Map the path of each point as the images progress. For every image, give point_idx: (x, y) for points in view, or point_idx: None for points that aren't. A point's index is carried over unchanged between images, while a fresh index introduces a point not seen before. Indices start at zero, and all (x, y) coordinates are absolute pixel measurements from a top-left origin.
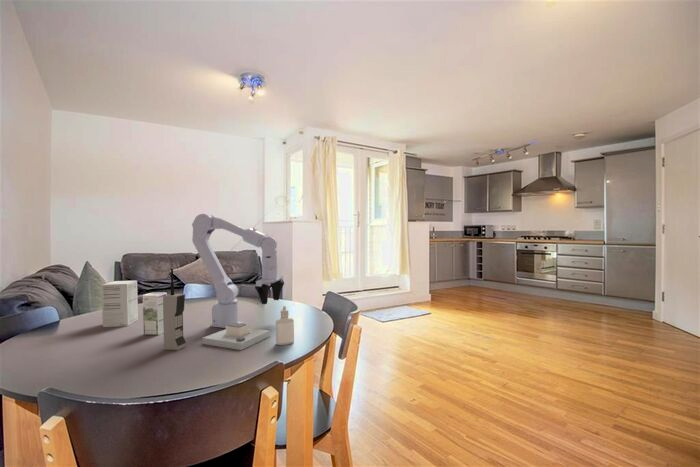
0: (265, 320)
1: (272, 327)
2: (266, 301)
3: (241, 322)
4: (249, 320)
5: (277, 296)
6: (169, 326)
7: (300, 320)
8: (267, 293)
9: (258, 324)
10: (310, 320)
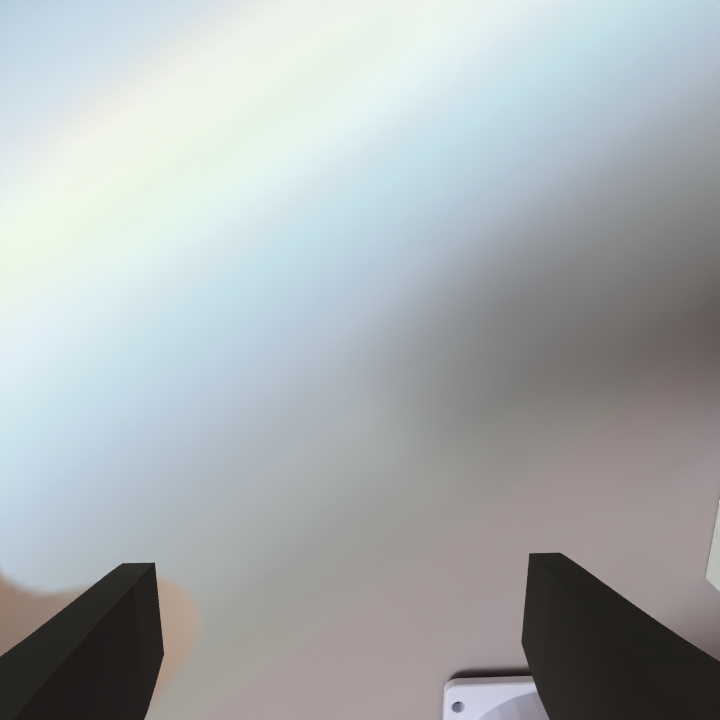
0: (264, 559)
1: (476, 317)
2: (585, 575)
3: (468, 692)
4: (326, 698)
5: (122, 628)
6: None
7: (85, 161)
8: (715, 709)
9: (422, 528)
10: (20, 15)
